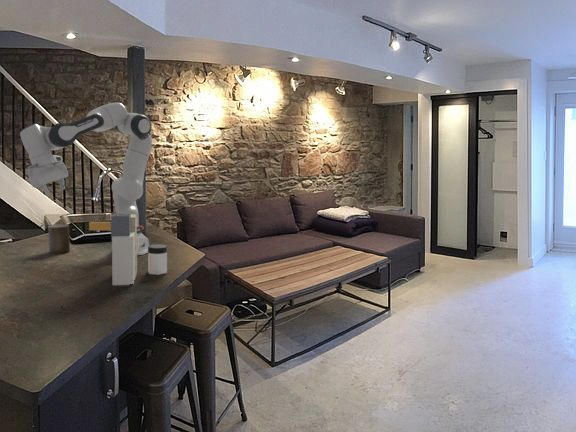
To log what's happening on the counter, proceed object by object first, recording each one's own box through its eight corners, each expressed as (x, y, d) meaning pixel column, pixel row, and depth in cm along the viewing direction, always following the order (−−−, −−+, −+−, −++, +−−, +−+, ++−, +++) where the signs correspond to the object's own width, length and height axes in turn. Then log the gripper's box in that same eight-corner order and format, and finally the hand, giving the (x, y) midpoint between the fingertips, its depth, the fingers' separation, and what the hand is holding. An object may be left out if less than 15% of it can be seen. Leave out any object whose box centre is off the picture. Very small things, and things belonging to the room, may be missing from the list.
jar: (160, 268, 221) (160, 243, 219) (171, 272, 216) (171, 246, 214) (143, 272, 214) (143, 246, 213) (154, 275, 209) (154, 249, 208)
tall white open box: (112, 285, 193) (111, 236, 190) (115, 279, 202) (114, 232, 199) (133, 284, 195) (132, 236, 192) (135, 278, 204) (134, 232, 201)
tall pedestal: (115, 277, 204) (115, 217, 200) (118, 272, 212) (117, 214, 209) (135, 277, 206) (135, 217, 202) (137, 272, 214) (136, 214, 211)
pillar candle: (73, 251, 248) (73, 223, 246) (56, 254, 240) (55, 225, 238) (62, 249, 253) (61, 221, 251) (44, 252, 245) (43, 223, 243)
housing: (88, 236, 189) (88, 216, 188) (91, 233, 196) (90, 213, 195) (129, 236, 193) (129, 216, 192) (131, 232, 200) (130, 213, 198)
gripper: (31, 164, 197) (45, 196, 200) (64, 156, 216) (76, 185, 219) (19, 168, 199) (33, 199, 201) (53, 160, 218) (65, 188, 221)
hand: (56, 192), depth 210 cm, fingers open, 8 cm apart
